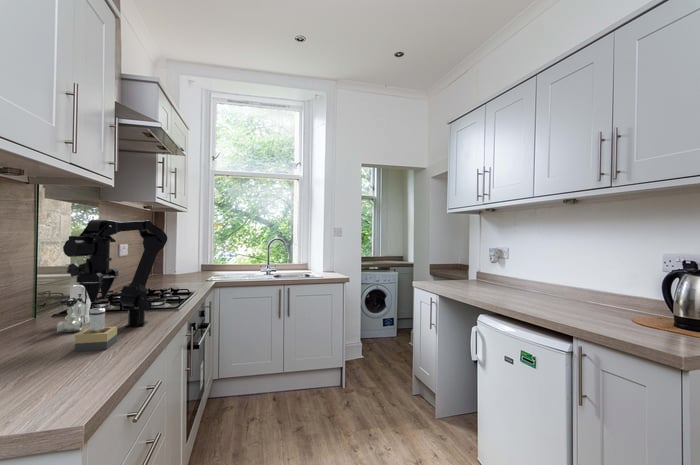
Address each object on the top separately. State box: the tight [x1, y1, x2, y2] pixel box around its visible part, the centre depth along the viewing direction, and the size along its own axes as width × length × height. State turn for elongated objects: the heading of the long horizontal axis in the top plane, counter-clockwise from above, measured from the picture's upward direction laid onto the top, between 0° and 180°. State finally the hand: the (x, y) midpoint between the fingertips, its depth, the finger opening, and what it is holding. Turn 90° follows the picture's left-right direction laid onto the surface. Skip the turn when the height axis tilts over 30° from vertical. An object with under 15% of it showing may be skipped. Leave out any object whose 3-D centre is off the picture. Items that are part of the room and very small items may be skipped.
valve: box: [56, 297, 84, 333], centre depth 123 cm, size 7×7×12 cm
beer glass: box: [69, 284, 92, 325], centre depth 135 cm, size 7×7×15 cm
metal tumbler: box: [88, 307, 106, 334], centre depth 108 cm, size 4×4×12 cm
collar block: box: [74, 326, 118, 353], centre depth 108 cm, size 8×8×5 cm
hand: (98, 299), depth 118 cm, fingers open, 9 cm apart
